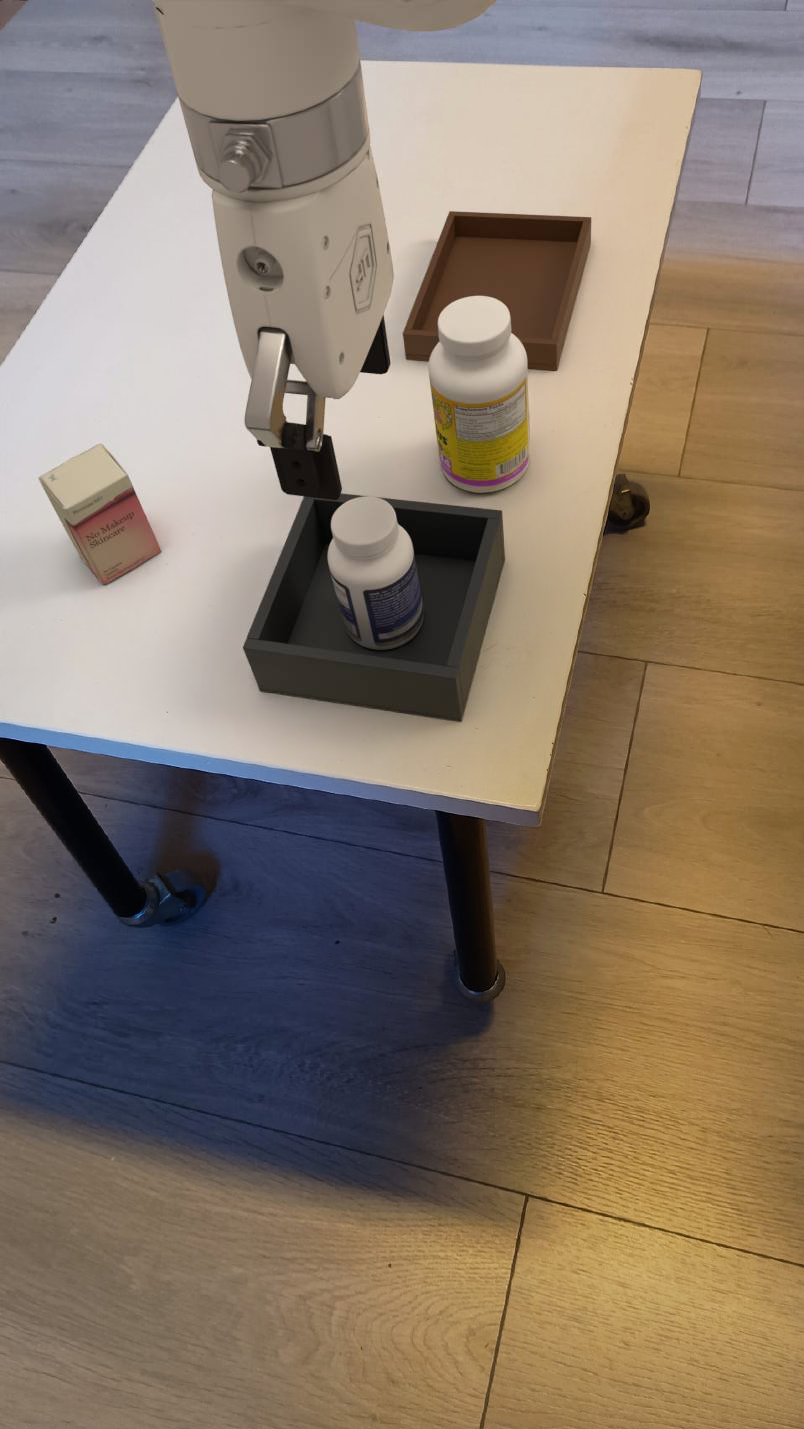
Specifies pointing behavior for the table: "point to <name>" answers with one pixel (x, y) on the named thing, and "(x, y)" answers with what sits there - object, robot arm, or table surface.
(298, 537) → the dark grey open box
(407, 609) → the pill bottle
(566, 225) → the tray
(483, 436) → the supplement bottle
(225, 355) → the table surface
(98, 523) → the small box
